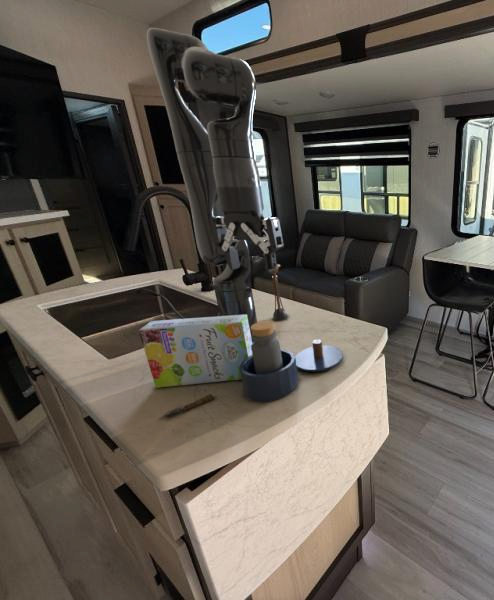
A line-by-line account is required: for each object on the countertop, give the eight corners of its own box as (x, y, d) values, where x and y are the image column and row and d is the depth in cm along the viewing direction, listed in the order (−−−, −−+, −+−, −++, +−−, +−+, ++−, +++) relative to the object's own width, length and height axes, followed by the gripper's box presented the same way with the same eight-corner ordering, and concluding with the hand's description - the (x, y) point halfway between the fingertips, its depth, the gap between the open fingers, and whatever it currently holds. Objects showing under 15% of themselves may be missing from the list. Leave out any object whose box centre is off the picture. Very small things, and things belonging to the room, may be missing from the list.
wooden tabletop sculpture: (279, 313, 115) (272, 259, 108) (291, 314, 114) (284, 260, 107) (270, 320, 110) (262, 263, 103) (282, 321, 109) (274, 264, 102)
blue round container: (233, 397, 70) (227, 371, 68) (266, 369, 81) (262, 346, 78) (278, 405, 67) (274, 379, 65) (307, 375, 78) (304, 352, 76)
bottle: (276, 393, 71) (266, 332, 66) (253, 389, 72) (241, 329, 67) (290, 378, 76) (281, 321, 71) (268, 375, 77) (258, 319, 72)
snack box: (257, 367, 82) (247, 313, 76) (252, 379, 76) (241, 322, 71) (166, 375, 78) (149, 319, 73) (154, 389, 73) (135, 329, 68)
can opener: (212, 397, 70) (211, 392, 70) (215, 402, 69) (214, 398, 68) (163, 415, 65) (161, 411, 64) (164, 421, 63) (163, 417, 63)
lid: (284, 369, 80) (281, 350, 78) (310, 346, 92) (307, 328, 90) (329, 377, 77) (327, 356, 75) (350, 352, 89) (349, 333, 87)
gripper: (284, 185, 60) (294, 267, 66) (222, 184, 64) (236, 263, 69) (258, 185, 54) (271, 277, 59) (190, 184, 57) (209, 272, 63)
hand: (252, 269), depth 64 cm, fingers open, 8 cm apart
